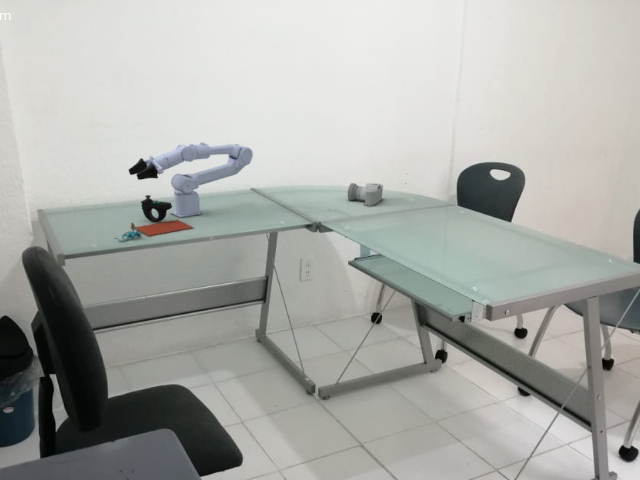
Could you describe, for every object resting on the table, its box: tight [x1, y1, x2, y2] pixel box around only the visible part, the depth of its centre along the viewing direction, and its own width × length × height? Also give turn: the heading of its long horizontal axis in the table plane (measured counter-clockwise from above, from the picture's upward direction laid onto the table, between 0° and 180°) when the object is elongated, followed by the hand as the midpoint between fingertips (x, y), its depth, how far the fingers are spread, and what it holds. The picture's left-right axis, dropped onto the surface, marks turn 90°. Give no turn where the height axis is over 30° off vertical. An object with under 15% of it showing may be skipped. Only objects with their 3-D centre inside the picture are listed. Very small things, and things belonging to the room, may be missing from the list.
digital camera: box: [347, 182, 384, 207], centre depth 270 cm, size 17×14×10 cm
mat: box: [134, 219, 194, 237], centre depth 226 cm, size 18×12×1 cm, turn 128°
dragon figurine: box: [113, 221, 143, 243], centre depth 212 cm, size 7×7×8 cm
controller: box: [140, 194, 173, 223], centre depth 232 cm, size 4×12×10 cm, turn 72°
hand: (133, 174), depth 227 cm, fingers open, 7 cm apart
